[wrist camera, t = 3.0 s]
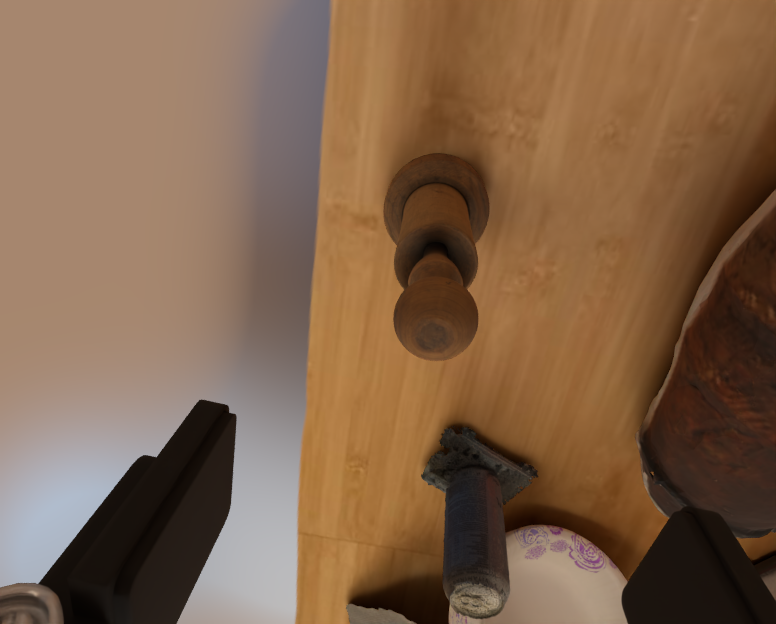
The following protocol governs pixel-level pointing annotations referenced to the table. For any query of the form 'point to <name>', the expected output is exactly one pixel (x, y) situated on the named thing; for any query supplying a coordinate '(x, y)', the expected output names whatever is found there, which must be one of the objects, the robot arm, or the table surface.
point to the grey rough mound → (374, 616)
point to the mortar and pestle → (436, 252)
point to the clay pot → (722, 392)
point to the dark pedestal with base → (475, 520)
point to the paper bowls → (557, 581)
